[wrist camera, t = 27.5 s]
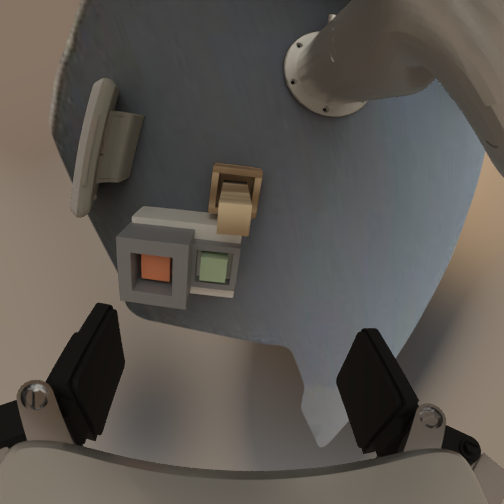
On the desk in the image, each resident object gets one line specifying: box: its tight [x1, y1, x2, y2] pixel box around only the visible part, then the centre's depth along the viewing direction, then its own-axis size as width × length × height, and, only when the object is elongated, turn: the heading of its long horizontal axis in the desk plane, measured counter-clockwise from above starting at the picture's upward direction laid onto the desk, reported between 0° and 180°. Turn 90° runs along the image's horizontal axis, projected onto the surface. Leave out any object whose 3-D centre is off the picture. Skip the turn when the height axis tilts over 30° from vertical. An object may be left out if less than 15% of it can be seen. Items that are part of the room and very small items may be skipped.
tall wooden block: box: [217, 180, 252, 236], centre depth 32 cm, size 3×3×12 cm
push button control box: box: [116, 206, 242, 310], centre depth 36 cm, size 10×14×10 cm
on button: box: [199, 251, 228, 283], centre depth 36 cm, size 3×3×2 cm
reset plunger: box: [141, 254, 172, 282], centre depth 34 cm, size 4×4×2 cm
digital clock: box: [70, 78, 144, 217], centre depth 29 cm, size 16×9×11 cm, turn 151°
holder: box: [208, 162, 263, 219], centre depth 36 cm, size 6×6×4 cm
